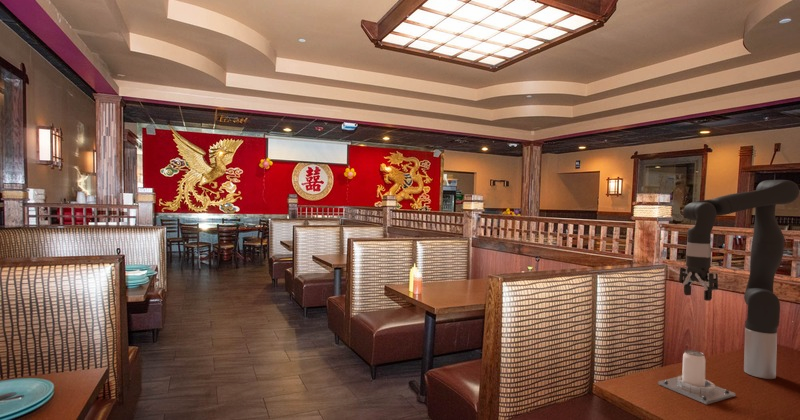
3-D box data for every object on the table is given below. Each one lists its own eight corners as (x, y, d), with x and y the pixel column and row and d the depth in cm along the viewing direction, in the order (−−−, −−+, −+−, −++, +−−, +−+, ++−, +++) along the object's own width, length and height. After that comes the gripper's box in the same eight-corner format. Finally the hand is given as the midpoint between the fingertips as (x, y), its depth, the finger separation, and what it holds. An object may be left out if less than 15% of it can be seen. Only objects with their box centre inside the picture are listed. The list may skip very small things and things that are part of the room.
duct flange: (685, 377, 152) (686, 369, 152) (735, 396, 137) (735, 387, 137) (658, 384, 145) (658, 376, 145) (706, 404, 131) (706, 395, 131)
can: (703, 385, 142) (704, 352, 142) (705, 392, 137) (706, 357, 137) (681, 380, 146) (682, 348, 146) (682, 387, 140) (683, 353, 140)
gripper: (674, 252, 158) (673, 293, 158) (706, 257, 144) (705, 302, 144) (690, 252, 159) (689, 293, 159) (724, 257, 145) (723, 302, 145)
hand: (697, 297), depth 152 cm, fingers open, 8 cm apart
